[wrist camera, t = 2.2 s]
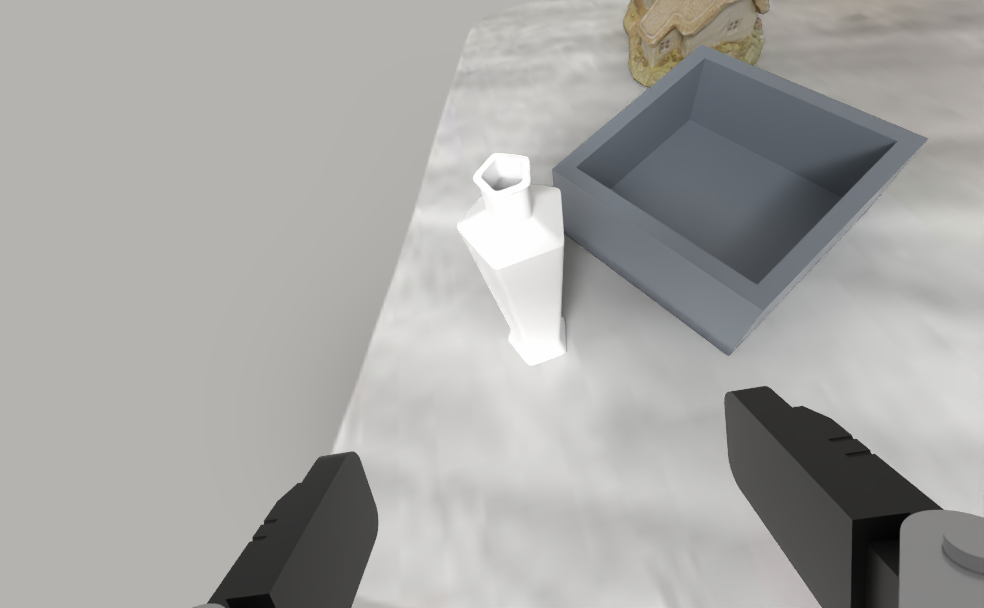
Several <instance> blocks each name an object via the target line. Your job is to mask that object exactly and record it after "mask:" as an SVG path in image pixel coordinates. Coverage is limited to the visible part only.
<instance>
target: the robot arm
mask: <svg viewBox="0 0 984 608" xmlns="http://www.w3.org/2000/svg"><path fill="white" fill-rule="evenodd" d="M724 403H725V418H726V431H727V445H728V457H729V463H730V467H731V470H732V473H733V476H734V478H735V481H736V483H737V485H738V487H739V488H740V490H741V491H742V493H743V494H744V496H745V497H746V498H747V500H748V501H749V503H750V504H751V506H752V507H753V509H754V510H755V511H756V513H757V514H758V516H759V517H760V519H761V520H762V522H763V523H764V524H765V526H766V527H767V529H768V530H769V532H770V533H771V535H772V536H773V537H774V539H775V540H776V542H777V543H778V545H779V546H780V548H781V549H782V550H783V552H784V553H785V555H786V556H787V558H788V559H789V561H790V562H791V564H792V565H793V566H794V568H795V569H796V571H797V572H798V574H799V575H800V577H801V578H802V579H803V581H804V582H805V584H806V585H807V587H808V588H809V590H810V591H811V592H812V594H813V595H814V597H815V598H816V600H817V601H818V603H819V604H820V605H821V607H822V608H984V518H983V517H979V516H976V515H972V514H968V513H963V512H958V511H949V510H943V509H942V508H941V507H940V506H938V505H937V504H936V503H935V502H933V501H932V500H931V499H930V498H929V497H927V496H926V495H925V494H924V493H922V492H921V491H920V490H919V489H917V488H916V487H915V486H914V485H913V484H911V483H910V482H909V481H908V480H906V479H905V478H904V477H903V476H901V475H900V474H899V473H898V472H896V471H895V470H894V469H893V468H892V467H890V466H889V465H888V464H887V463H885V462H884V461H883V460H882V459H880V458H879V457H878V456H877V455H876V454H871V452H870V450H869V449H868V448H867V447H866V446H864V445H863V444H862V443H861V442H859V441H858V440H857V439H853V437H852V435H851V434H850V433H848V432H847V431H846V430H845V429H843V428H842V427H841V426H840V425H838V424H837V423H836V422H835V421H834V420H832V419H831V418H829V417H826V416H824V415H822V414H820V413H817V412H815V411H813V410H810V409H808V408H806V407H804V406H800V407H793V408H792V407H791V406H790V405H789V404H788V403H786V402H785V401H784V400H783V399H782V398H781V397H780V396H779V395H777V394H776V393H775V392H774V391H773V390H772V389H770V388H769V387H767V386H763V387H756V388H750V389H744V390H738V391H731V392H727V393H726V395H725V401H724ZM377 532H378V512H377V508H376V504H375V501H374V498H373V496H372V493H371V490H370V487H369V484H368V481H367V478H366V475H365V472H364V469H363V466H362V463H361V461H360V458H359V456H358V455H357V454H356V453H355V452H346V453H340V454H333V455H327V456H321V457H319V458H318V459H317V460H316V462H315V463H314V465H313V466H312V468H311V469H310V471H309V472H308V474H307V476H306V477H305V478H304V480H303V482H302V483H298V484H296V485H295V486H294V487H293V488H292V489H291V490H290V491H289V492H287V493H286V494H285V495H284V496H283V497H282V498H281V499H280V500H278V501H277V503H276V504H275V506H274V507H273V509H272V510H271V511H270V513H269V514H268V516H267V517H266V519H265V520H264V525H261V526H260V527H259V529H258V530H257V532H256V533H255V535H254V536H253V541H252V542H249V543H248V545H247V546H246V548H245V549H244V551H243V552H242V553H241V555H240V556H239V558H238V560H237V561H236V562H235V564H234V565H233V566H232V568H231V570H230V571H229V572H228V574H227V575H226V577H225V578H224V580H223V581H222V582H221V584H220V585H219V587H218V588H217V590H216V592H215V593H214V594H213V596H212V597H211V598H210V600H209V601H208V603H207V604H203V605H200V606H197V607H193V608H351V606H352V604H353V601H354V598H355V595H356V592H357V590H358V587H359V584H360V581H361V579H362V576H363V573H364V570H365V568H366V565H367V562H368V559H369V557H370V554H371V551H372V548H373V546H374V543H375V540H376V537H377Z"/></svg>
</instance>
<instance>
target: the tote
mask: <svg viewBox="0 0 984 608" xmlns="http://www.w3.org/2000/svg"><path fill="white" fill-rule="evenodd" d="M927 140H928V138H925V137H923V136H920V135H918V134H916V133H913V132H911V131H908V130H906V129H904V128H901V127H899V126H896V125H894V124H892V123H889V122H887V121H884V120H882V119H880V118H877V117H875V116H872V115H870V114H868V113H865V112H863V111H860V110H858V109H856V108H853V107H851V106H848V105H846V104H844V103H841V102H839V101H836V100H834V99H832V98H829V97H827V96H825V95H822V94H820V93H817V92H815V91H813V90H810V89H808V88H805V87H803V86H801V85H798V84H796V83H793V82H791V81H789V80H786V79H784V78H781V77H779V76H777V75H774V74H772V73H769V72H767V71H765V70H762V69H760V68H757V67H755V66H753V65H750V64H748V63H745V62H743V61H741V60H738V59H736V58H733V57H731V56H729V55H726V54H724V53H721V52H719V51H717V50H714V49H712V48H709V47H707V46H705V45H700V46H699V47H698V48H697V49H696V50H694V51H693V52H692V53H691V54H690V55H688V56H687V57H686V58H685V59H684V60H682V61H681V62H680V63H679V64H678V65H676V66H675V67H674V68H673V69H672V70H670V71H669V72H668V73H667V74H666V75H664V76H663V77H662V78H661V79H660V80H658V81H657V82H656V83H655V84H654V85H653V86H651V87H650V88H649V89H648V90H647V91H645V92H644V93H643V94H642V95H641V96H639V97H638V98H637V99H636V100H635V101H633V102H632V103H631V104H630V105H629V106H627V107H626V108H625V109H624V110H623V111H621V112H620V113H619V114H618V115H617V116H615V117H614V118H613V119H612V120H611V121H609V122H608V123H607V124H606V125H605V126H603V127H602V128H601V129H600V130H599V131H597V132H596V133H595V134H594V135H593V136H591V137H590V138H589V139H588V140H587V141H586V142H584V143H583V144H582V145H581V146H580V147H578V148H577V149H576V150H575V151H574V152H572V153H571V154H570V155H569V156H568V157H566V158H565V159H564V160H563V161H562V162H560V163H559V164H558V165H557V166H556V167H554V168H553V169H552V171H553V183H554V187H556V188H558V189H559V190H560V192H561V202H562V215H563V229H564V233H565V234H566V235H567V236H569V237H570V238H571V239H573V240H574V241H575V242H577V243H578V244H579V245H581V246H582V247H583V248H585V249H586V250H587V251H589V252H590V253H591V254H593V255H594V256H595V257H597V258H598V259H599V260H601V261H602V262H603V263H605V264H606V265H607V266H609V267H610V268H611V269H613V270H614V271H615V272H617V273H618V274H619V275H621V276H622V277H624V278H625V279H626V280H628V281H629V282H630V283H632V284H633V285H634V286H636V287H637V288H638V289H640V290H641V291H642V292H644V293H645V294H646V295H648V296H649V297H650V298H652V299H653V300H654V301H656V302H657V303H658V304H660V305H661V306H662V307H664V308H665V309H666V310H668V311H669V312H670V313H672V314H673V315H674V316H676V317H677V318H678V319H680V320H681V321H682V322H684V323H685V324H686V325H688V326H689V327H690V328H692V329H693V330H694V331H696V332H697V333H698V334H700V335H701V336H702V337H704V338H705V339H706V340H708V341H709V342H710V343H712V344H713V345H714V346H716V347H717V348H718V349H720V350H721V351H722V352H724V353H725V354H726V355H728V356H729V355H730V354H731V353H732V352H733V351H734V350H735V349H736V348H737V347H738V346H739V345H740V344H741V342H742V341H743V340H744V339H745V338H746V337H747V336H748V335H749V334H750V333H751V332H752V331H753V330H754V329H755V328H756V327H757V326H758V325H759V324H760V323H761V321H762V320H763V319H764V318H765V317H766V316H767V315H768V314H769V313H770V312H771V311H772V310H773V309H774V308H775V307H776V306H777V305H778V304H779V303H780V302H781V300H782V299H783V298H784V297H785V296H786V295H787V294H788V293H789V292H790V291H791V290H792V289H793V288H794V287H795V286H796V285H797V284H798V283H799V282H800V280H801V279H802V278H803V277H804V276H805V275H806V274H807V273H808V272H809V271H810V270H811V269H812V268H813V267H814V266H815V265H816V264H817V263H818V262H819V261H820V259H821V258H822V257H823V256H824V255H825V254H826V253H827V252H828V251H829V250H830V249H831V248H832V247H833V246H834V245H835V244H836V243H837V242H838V241H839V240H840V238H841V237H842V236H843V235H844V234H845V233H846V232H847V231H848V230H849V229H850V228H851V227H852V226H853V225H854V224H855V223H856V222H857V221H858V220H859V219H860V217H861V216H862V215H863V214H864V213H865V212H866V211H867V210H868V209H869V208H870V207H871V205H872V204H873V203H874V202H875V201H876V200H877V198H878V197H879V196H880V195H881V194H882V192H883V191H884V190H885V189H886V188H887V187H888V185H889V184H890V183H891V182H892V181H893V180H894V178H895V177H896V176H897V175H898V174H899V172H900V171H901V170H902V169H903V168H904V167H905V165H906V164H907V163H908V162H909V161H910V160H911V158H912V157H913V156H914V155H915V154H916V152H917V151H918V150H919V149H920V148H921V147H922V145H923V144H924V143H925V142H926V141H927Z"/></svg>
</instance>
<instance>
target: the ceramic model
mask: <svg viewBox="0 0 984 608" xmlns="http://www.w3.org/2000/svg"><path fill="white" fill-rule="evenodd" d="M769 8H770V6H769V0H631V2H630V4H629V5H628V11H627V13H626V15H625V18H624V27H625V30H626V31H627V33H628V35H629V37H630V41H629V46H630V54H629V68H630V70H631V73H632V75H633V77H634V79H636V80H637V81H638V82H640V83H641V84H642V85H644V86H649V87H651V86H653V85H654V84H655V83H656V82H657V81H658V80H660V79H661V78H662V77H663V76H664V75H666V74H667V73H668V72H669V71H670V70H672V69H673V68H674V67H675V66H676V65H678V64H679V63H680V62H681V61H682V60H684V59H685V58H686V57H687V56H688V55H690V54H691V53H692V52H693V51H694V50H696V49H697V48H698V47H699V46H700V45H705V46H707V47H709V48H712V49H714V50H717V51H719V52H721V53H724V54H726V55H729V56H731V57H733V58H736V59H738V60H741V61H743V62H745V63H748V64H750V65H753V64H755V63H756V62H757V60H758V58H759V56H760V51H761V49H762V47H763V44H764V39H765V38H764V36H763V32H762V24H761V19H760V18H758V17H757V16H758V15H757V12H758V13H760V14H765V13H767V12H768V11H769Z"/></svg>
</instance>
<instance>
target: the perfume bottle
mask: <svg viewBox="0 0 984 608" xmlns="http://www.w3.org/2000/svg"><path fill="white" fill-rule="evenodd" d="M473 180H474V182H475V183H476V184H477V185H478V186H479V187H480V190H481V193H482V196H481V197H480V198H479V199H478V200H477V202H476V203H475V204H474V205H473V206H472V207H471V209H470V210H469V211H468V212H467V213H466V214H465V216H464V217H463V218H462V219H461V220H460V221H459V223H458V225H457V228H458V230H459V232H460V234H461V236H462V238H463V240H464V241H465V243H466V245H467V247H468V249H469V251H470V253H471V255H472V257H473V259H474V260H475V262H476V264H477V266H478V268H479V270H480V272H481V274H482V276H483V278H484V279H485V281H486V283H487V285H488V287H489V289H490V291H491V293H492V295H493V297H494V298H495V300H496V302H497V304H498V306H499V308H500V310H501V312H502V314H503V316H504V317H505V319H506V321H507V323H508V325H509V327H510V332H509V335H508V340H509V342H510V343H511V344H512V345H513V347H514V348H515V349H516V350H517V352H518V353H519V354H520V355H521V356H522V358H523V359H524V360H525V361H526V363H527V364H528V365H531V366H532V365H535V364H538V363H541V362H544V361H547V360H549V359H552V358H555V357H558V356H560V355H563V354H565V353H566V351H567V346H566V331H565V320H564V318H563V317H562V316H561V305H562V282H563V258H564V229H563V215H562V202H561V192H560V190H559V189H558V188H556V187H550V186H542V185H535V184H530V182H531V176H530V160H529V158H528V157H526V156H522V155H513V154H505V153H494V154H492V155H491V156H490V157H489V158H488V159H487V160H486V161H485V163H484V164H483V165H482V166H481V167H480V168H479V169H478V171H477V172H476V173H475V174H474V176H473Z"/></svg>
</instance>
